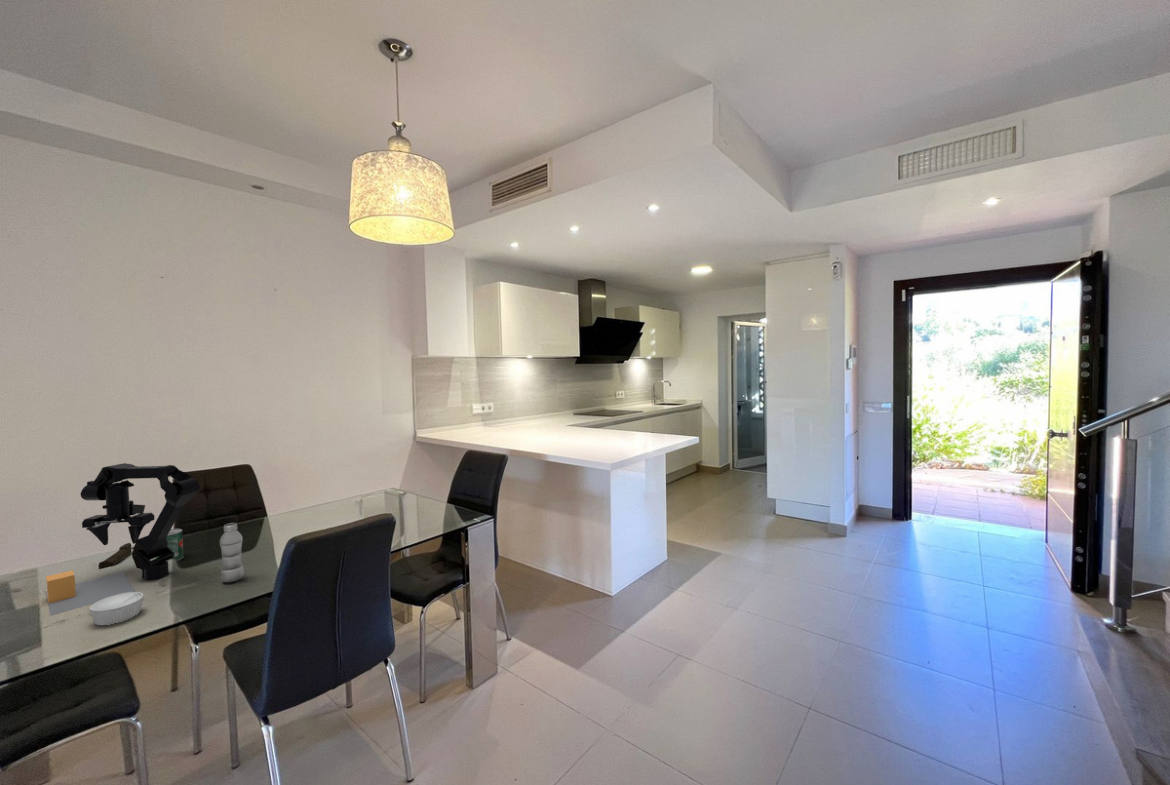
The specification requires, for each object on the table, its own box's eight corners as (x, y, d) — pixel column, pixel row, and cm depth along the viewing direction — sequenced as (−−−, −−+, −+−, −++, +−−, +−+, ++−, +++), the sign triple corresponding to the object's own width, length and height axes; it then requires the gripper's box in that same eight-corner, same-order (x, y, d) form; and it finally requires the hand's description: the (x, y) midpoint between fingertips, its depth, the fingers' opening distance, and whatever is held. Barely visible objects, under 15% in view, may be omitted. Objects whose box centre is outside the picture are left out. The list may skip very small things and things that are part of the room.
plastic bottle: (239, 574, 162) (236, 520, 161) (248, 579, 158) (245, 523, 157) (217, 581, 156) (214, 525, 155) (226, 586, 153) (223, 529, 152)
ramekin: (145, 617, 134) (145, 599, 134) (90, 633, 126) (89, 615, 126) (142, 604, 142) (142, 587, 142) (90, 618, 134) (89, 601, 133)
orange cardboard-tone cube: (75, 596, 144) (74, 574, 143) (48, 603, 139) (47, 581, 139) (74, 591, 147) (72, 570, 147) (47, 597, 143) (46, 576, 142)
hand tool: (112, 570, 166) (111, 558, 166) (98, 572, 165) (97, 559, 164) (139, 551, 184) (139, 540, 184) (127, 553, 182) (126, 541, 182)
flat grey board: (136, 595, 147) (135, 591, 147) (50, 620, 132) (50, 615, 132) (123, 575, 161) (123, 571, 161) (45, 595, 147) (45, 591, 147)
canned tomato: (150, 563, 172) (148, 535, 171) (172, 555, 179) (171, 528, 179) (167, 564, 170) (165, 536, 170) (189, 556, 178) (187, 529, 177)
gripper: (165, 492, 166) (168, 534, 166) (109, 495, 164) (112, 537, 164) (139, 501, 155) (142, 545, 155) (78, 504, 152) (81, 549, 153)
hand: (120, 544), depth 157 cm, fingers open, 9 cm apart
